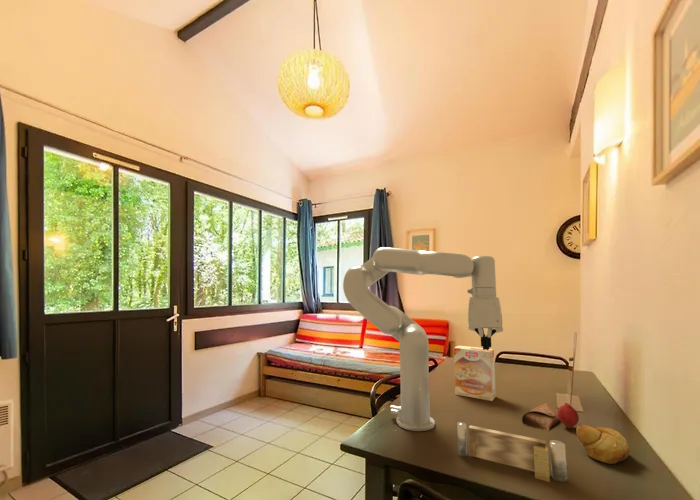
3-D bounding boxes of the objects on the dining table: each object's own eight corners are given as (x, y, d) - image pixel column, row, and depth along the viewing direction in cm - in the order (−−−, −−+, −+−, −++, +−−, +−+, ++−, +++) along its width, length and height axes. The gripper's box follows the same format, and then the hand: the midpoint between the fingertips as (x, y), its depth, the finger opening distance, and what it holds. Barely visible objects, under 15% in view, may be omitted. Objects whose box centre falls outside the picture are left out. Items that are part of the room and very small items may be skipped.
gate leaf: (469, 455, 90) (468, 427, 91) (470, 452, 91) (469, 425, 92) (547, 475, 81) (545, 443, 82) (547, 471, 82) (545, 440, 83)
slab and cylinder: (535, 478, 80) (533, 443, 81) (535, 469, 84) (533, 435, 85) (567, 486, 77) (565, 449, 78) (566, 476, 81) (564, 442, 82)
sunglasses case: (550, 431, 106) (537, 409, 109) (530, 437, 110) (518, 415, 113) (568, 417, 118) (556, 397, 121) (549, 422, 122) (538, 403, 125)
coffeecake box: (454, 394, 141) (453, 347, 143) (459, 390, 147) (458, 344, 149) (492, 401, 133) (490, 351, 135) (496, 396, 139) (494, 348, 141)
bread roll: (605, 445, 97) (602, 416, 98) (644, 461, 88) (641, 429, 89) (573, 452, 93) (571, 422, 94) (611, 470, 84) (608, 437, 85)
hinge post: (457, 455, 91) (456, 424, 92) (459, 451, 93) (458, 421, 94) (466, 457, 90) (465, 426, 91) (468, 453, 92) (467, 423, 93)
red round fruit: (559, 422, 113) (558, 397, 114) (580, 427, 109) (578, 401, 110) (557, 428, 108) (555, 402, 109) (578, 433, 105) (576, 406, 105)
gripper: (458, 293, 113) (460, 348, 111) (507, 293, 105) (510, 353, 103) (463, 292, 119) (465, 345, 117) (509, 293, 112) (512, 349, 110)
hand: (486, 349), depth 110 cm, fingers closed
